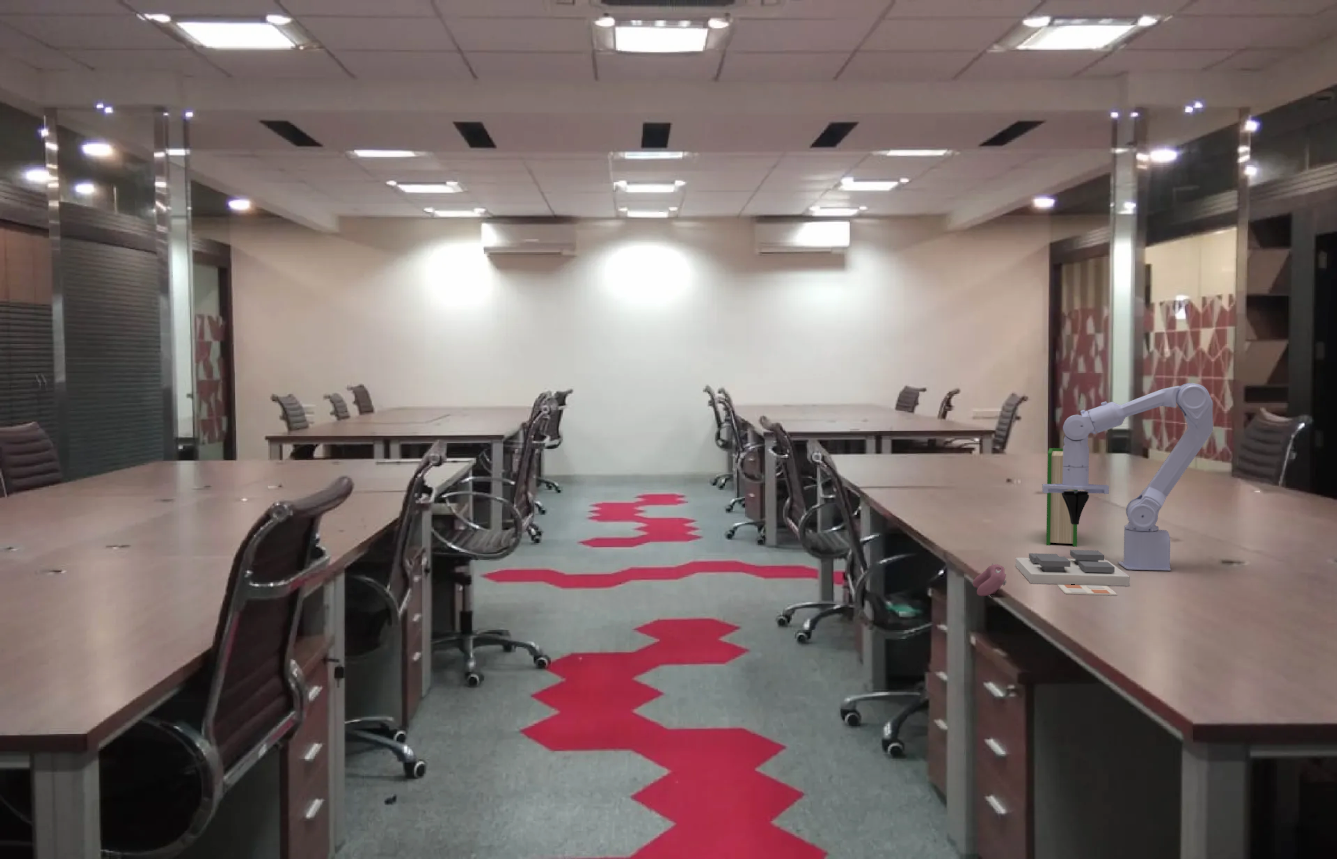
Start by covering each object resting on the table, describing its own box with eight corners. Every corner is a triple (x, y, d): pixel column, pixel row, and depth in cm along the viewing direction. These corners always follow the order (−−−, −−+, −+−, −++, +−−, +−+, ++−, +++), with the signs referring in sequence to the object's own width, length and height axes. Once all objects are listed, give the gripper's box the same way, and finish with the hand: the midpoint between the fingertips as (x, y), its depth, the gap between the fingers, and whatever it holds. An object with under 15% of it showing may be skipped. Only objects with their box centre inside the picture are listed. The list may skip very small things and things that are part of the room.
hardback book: (1076, 546, 272) (1078, 453, 271) (1046, 545, 275) (1047, 453, 273) (1076, 536, 289) (1078, 448, 287) (1047, 535, 291) (1049, 448, 290)
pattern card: (1107, 587, 222) (1107, 585, 222) (1117, 595, 214) (1117, 593, 214) (1057, 586, 224) (1057, 584, 224) (1065, 594, 216) (1065, 592, 216)
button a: (1097, 563, 241) (1097, 550, 241) (1103, 568, 235) (1104, 555, 235) (1069, 563, 242) (1070, 549, 242) (1075, 568, 236) (1075, 554, 236)
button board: (1106, 568, 243) (1106, 559, 243) (1129, 586, 223) (1129, 576, 223) (1015, 566, 246) (1015, 557, 246) (1031, 583, 226) (1031, 574, 226)
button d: (1064, 570, 233) (1064, 556, 233) (1070, 575, 227) (1070, 561, 227) (1036, 569, 234) (1036, 555, 234) (1041, 574, 228) (1041, 560, 228)
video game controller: (996, 605, 213) (1012, 574, 212) (975, 594, 214) (991, 564, 213) (990, 594, 223) (1006, 565, 222) (970, 584, 223) (986, 555, 223)
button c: (1107, 576, 232) (1107, 562, 232) (1114, 581, 226) (1114, 567, 226) (1078, 575, 233) (1078, 561, 233) (1084, 580, 227) (1085, 566, 227)
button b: (1056, 567, 242) (1056, 553, 242) (1061, 572, 236) (1061, 558, 236) (1028, 566, 243) (1029, 553, 243) (1033, 571, 237) (1033, 557, 237)
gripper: (1046, 467, 245) (1045, 525, 245) (1112, 468, 242) (1111, 527, 243) (1040, 464, 252) (1040, 521, 252) (1105, 465, 249) (1104, 522, 250)
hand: (1074, 523), depth 248 cm, fingers closed
